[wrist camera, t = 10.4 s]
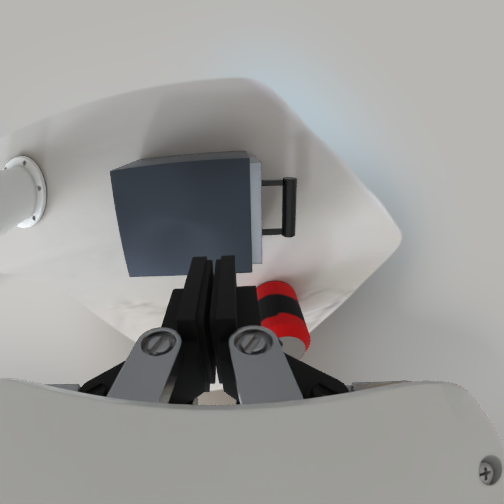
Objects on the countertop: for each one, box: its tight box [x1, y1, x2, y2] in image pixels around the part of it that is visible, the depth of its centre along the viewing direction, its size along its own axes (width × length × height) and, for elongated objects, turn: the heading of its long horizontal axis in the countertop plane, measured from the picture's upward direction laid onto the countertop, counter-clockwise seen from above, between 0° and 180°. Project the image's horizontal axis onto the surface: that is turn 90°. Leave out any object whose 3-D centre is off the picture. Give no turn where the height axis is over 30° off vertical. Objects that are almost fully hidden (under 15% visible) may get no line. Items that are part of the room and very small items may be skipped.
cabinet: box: [110, 151, 252, 277], centre depth 32 cm, size 15×13×10 cm
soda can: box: [256, 281, 310, 360], centre depth 39 cm, size 8×8×12 cm
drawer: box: [248, 156, 297, 264], centre depth 32 cm, size 18×11×8 cm, turn 91°
